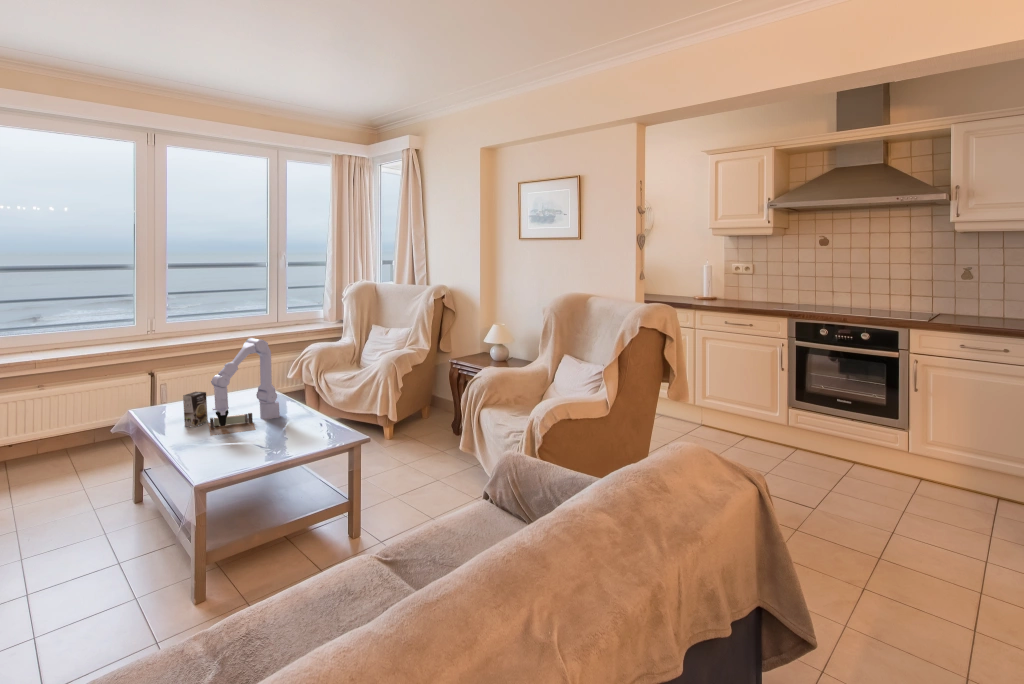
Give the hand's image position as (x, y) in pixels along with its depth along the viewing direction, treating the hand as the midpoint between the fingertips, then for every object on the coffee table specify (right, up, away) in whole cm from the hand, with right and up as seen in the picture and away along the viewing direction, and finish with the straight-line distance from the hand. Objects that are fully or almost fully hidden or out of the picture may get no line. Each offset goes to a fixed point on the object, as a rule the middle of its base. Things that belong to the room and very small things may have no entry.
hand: (222, 425), depth 276 cm
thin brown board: (+2, -2, +4) cm, 5 cm away
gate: (+1, 0, +7) cm, 7 cm away
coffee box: (-18, -1, +8) cm, 20 cm away
